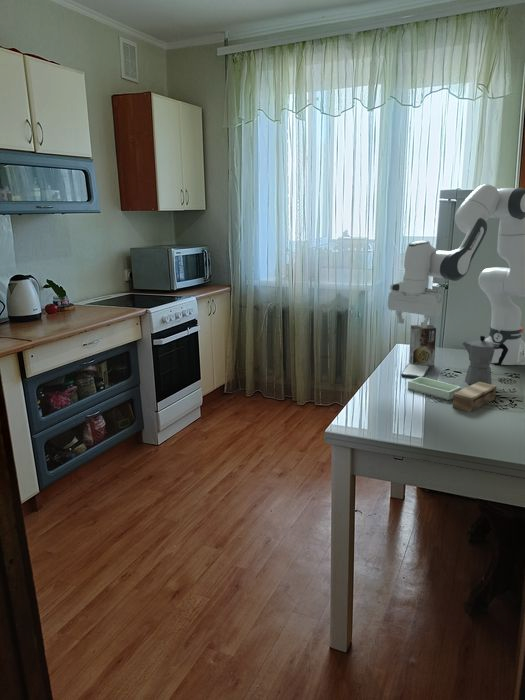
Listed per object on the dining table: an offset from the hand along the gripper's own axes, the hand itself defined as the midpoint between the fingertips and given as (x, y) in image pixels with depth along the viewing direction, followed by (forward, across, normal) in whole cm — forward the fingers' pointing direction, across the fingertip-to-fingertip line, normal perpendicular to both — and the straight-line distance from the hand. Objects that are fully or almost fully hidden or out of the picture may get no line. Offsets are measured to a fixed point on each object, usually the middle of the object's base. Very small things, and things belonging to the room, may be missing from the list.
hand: (412, 325), depth 185 cm
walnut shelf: (+22, -26, +2) cm, 34 cm away
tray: (+22, -12, +2) cm, 25 cm away
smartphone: (+22, +5, -14) cm, 27 cm away
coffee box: (+22, +10, -26) cm, 35 cm away
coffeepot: (+22, -19, -20) cm, 35 cm away
